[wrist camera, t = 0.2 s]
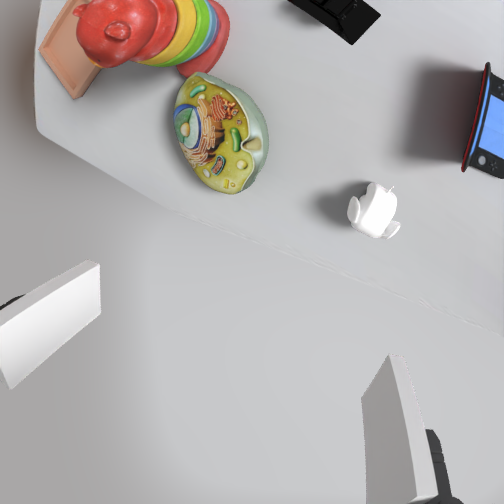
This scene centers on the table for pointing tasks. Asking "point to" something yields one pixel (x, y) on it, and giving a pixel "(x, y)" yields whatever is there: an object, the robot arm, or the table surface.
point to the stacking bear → (153, 33)
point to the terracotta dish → (68, 52)
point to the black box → (341, 16)
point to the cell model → (220, 133)
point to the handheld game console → (487, 128)
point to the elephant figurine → (374, 212)
